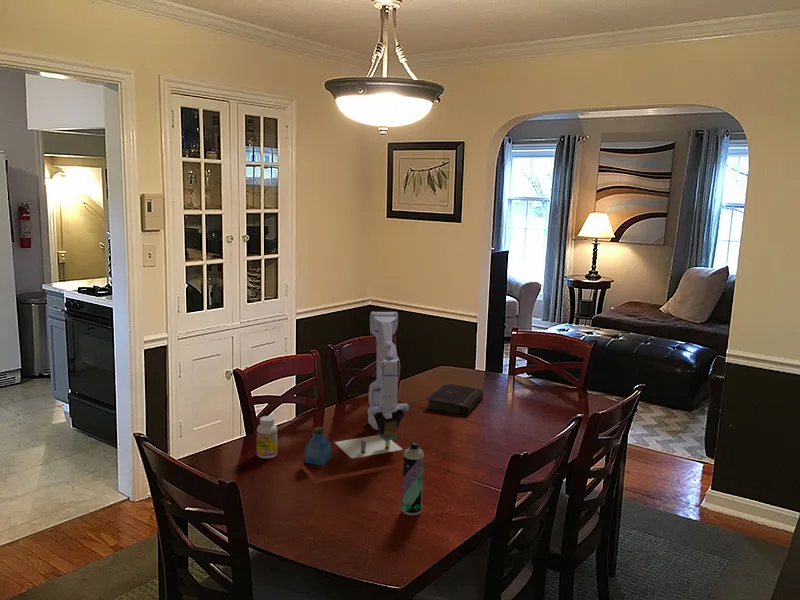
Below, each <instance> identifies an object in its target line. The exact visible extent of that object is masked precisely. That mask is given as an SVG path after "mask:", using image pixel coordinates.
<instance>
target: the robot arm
mask: <svg viewBox="0 0 800 600" xmlns="http://www.w3.org/2000/svg"><path fill="white" fill-rule="evenodd" d="M398 325H399V314H398V312H397V311H371V312H370V315H369V328H370V329H369V332H370V334H371V335H373V336H374V337H375V340H376V379H375V380H374V381H373V382H372V383H370V385H369V386H368V387H369V388H368V405H369V407H368V408H367V415H368V419H367V420H368V421H367V423H368V425H370V426H371V428H372V429H374V430H376V431H378V433H380V434H381V435H383V433H384V421H385V418H390V417H391V418H393V419H394V420H396V421H397V430H398V429H399V425H400V423H401V421H402V419H403V417H404V416H405V412H404V411H409V409H410V408H409V407H410V405H409V404H408V403H407V402H405V403H403V402H402V403H398V393H399V392H398V391H399V390H398V388H399V383H398V382H399V377H400V373H401V363H400V359H399V356H398V352H397V346H396V344H395V343H394V342H393V335H394V334H396V331H397V330H398V329H397V328H398Z"/></svg>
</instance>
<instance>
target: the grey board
mask: <svg viewBox="0 0 800 600" xmlns="http://www.w3.org/2000/svg"><path fill="white" fill-rule="evenodd" d="M362 440H365V441H366V453H361V441H362ZM334 444H336V445H337V446H338V447H339V448H340V449H341V450H342V452H344V453H345V454H346V455H347V456H348V457H350V459H356V458H363V457H369V456H375V455H380V454H386V453H392V452H396V451H398V452H399V451H403V450H404V449H403V448H402V447H401V446H400V445H398V444H397V443H395V442H394V441H393V439H392V440H390V449H385V441H384V440H383V439H382V438H380V437H379V436H378V434H377V435H371V436H370V435H369V436H365V437H356V438H350V439H345V440H341V441H340V440H339V441H334Z"/></svg>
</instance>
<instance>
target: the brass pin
mask: <svg viewBox="0 0 800 600" xmlns="http://www.w3.org/2000/svg"><path fill="white" fill-rule="evenodd" d="M385 449H390V440H386V441H385Z"/></svg>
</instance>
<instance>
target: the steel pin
mask: <svg viewBox="0 0 800 600" xmlns="http://www.w3.org/2000/svg"><path fill="white" fill-rule="evenodd" d="M361 453H366V441H365V440H362V441H361Z"/></svg>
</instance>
